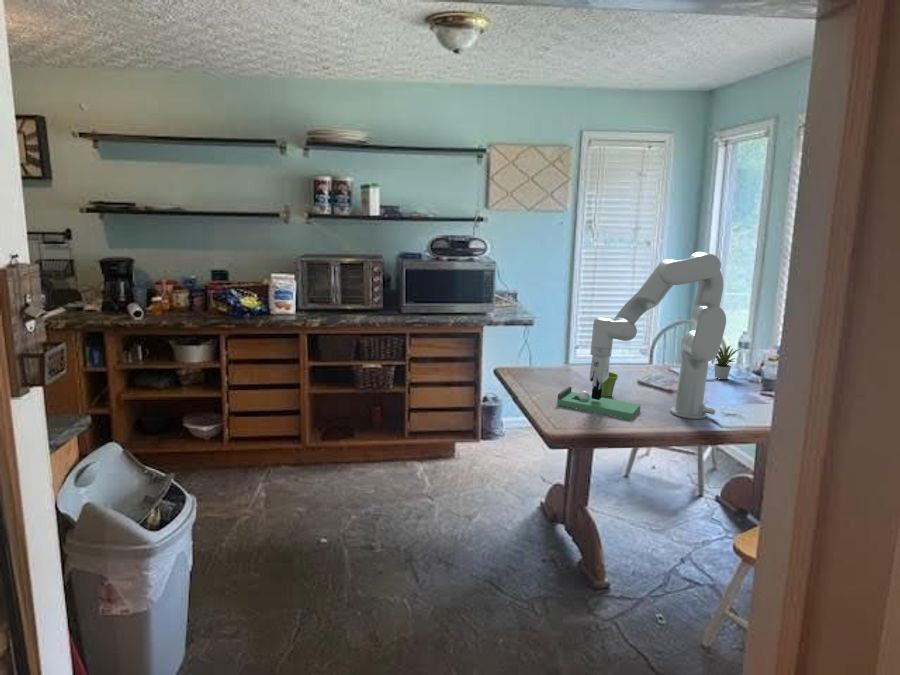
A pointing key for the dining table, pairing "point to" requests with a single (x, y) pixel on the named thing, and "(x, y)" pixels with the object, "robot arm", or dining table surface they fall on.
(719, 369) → the house plant
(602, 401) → the green
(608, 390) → the plant pot
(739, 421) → the dining table surface
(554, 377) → the dining table surface
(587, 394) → the ball
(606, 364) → the robot arm
